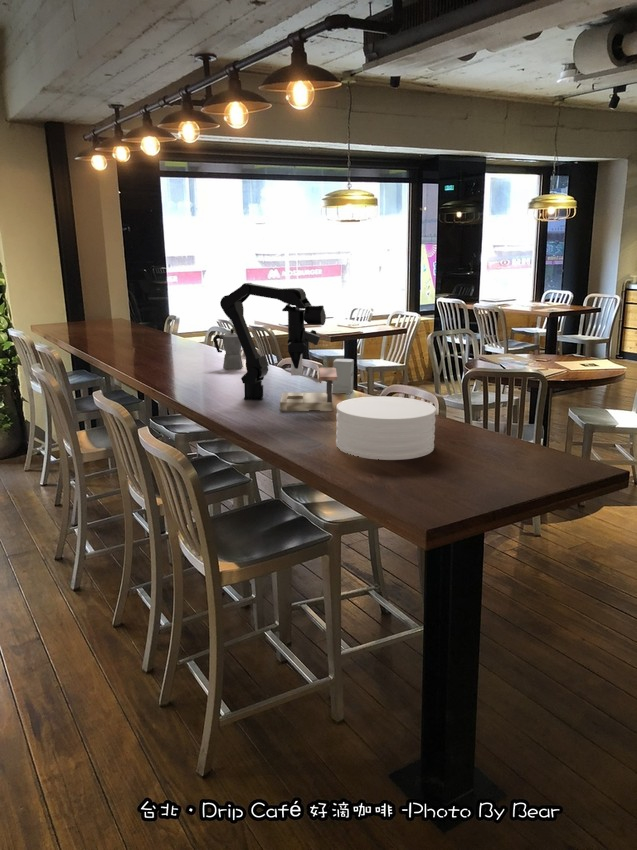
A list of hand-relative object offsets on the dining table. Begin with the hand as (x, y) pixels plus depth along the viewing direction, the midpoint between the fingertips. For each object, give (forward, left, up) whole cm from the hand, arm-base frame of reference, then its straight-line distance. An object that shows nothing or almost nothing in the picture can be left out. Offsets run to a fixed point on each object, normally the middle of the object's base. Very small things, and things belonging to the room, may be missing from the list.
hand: (296, 367), depth 246 cm
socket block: (+4, -7, -13) cm, 15 cm away
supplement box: (+18, +17, -13) cm, 28 cm away
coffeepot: (-32, +69, -13) cm, 78 cm away
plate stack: (+27, -56, -13) cm, 63 cm away
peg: (0, 0, -3) cm, 3 cm away
